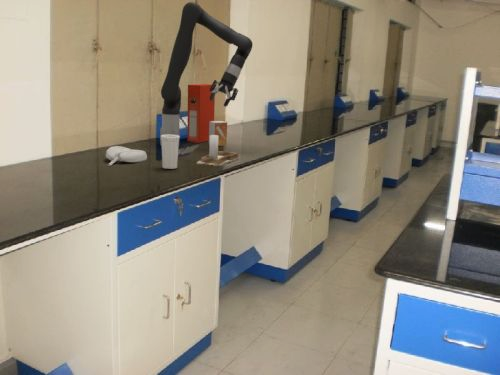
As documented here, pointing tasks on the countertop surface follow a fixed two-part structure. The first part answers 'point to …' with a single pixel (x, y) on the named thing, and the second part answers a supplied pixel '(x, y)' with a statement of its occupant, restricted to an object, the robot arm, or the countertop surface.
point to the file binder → (199, 112)
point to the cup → (170, 151)
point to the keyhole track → (219, 159)
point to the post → (213, 147)
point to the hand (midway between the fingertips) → (217, 103)
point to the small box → (218, 131)
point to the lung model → (124, 155)
